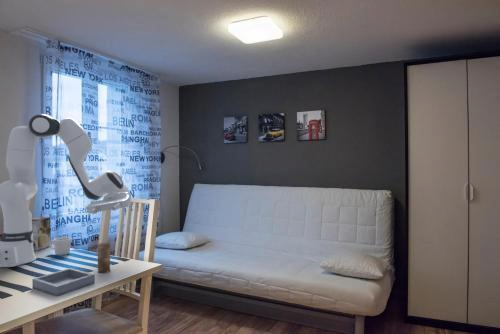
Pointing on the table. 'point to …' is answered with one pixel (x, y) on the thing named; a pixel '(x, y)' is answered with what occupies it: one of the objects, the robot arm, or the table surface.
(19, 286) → the table surface
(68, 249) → the cup
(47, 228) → the coffee box
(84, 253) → the table surface
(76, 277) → the box
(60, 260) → the table surface
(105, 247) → the walnut cylinder
